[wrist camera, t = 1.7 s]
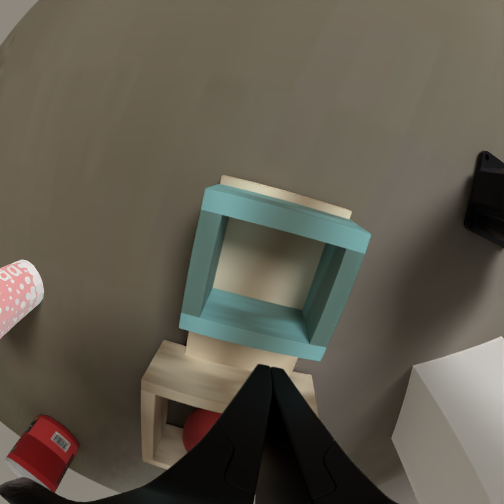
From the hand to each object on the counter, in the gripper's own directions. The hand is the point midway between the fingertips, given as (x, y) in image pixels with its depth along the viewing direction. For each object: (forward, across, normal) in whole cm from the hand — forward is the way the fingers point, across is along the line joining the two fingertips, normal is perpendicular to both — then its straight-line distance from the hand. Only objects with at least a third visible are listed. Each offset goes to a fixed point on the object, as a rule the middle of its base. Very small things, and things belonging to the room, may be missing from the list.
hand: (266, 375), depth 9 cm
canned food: (+11, +22, +34) cm, 42 cm away
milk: (+11, -23, +9) cm, 27 cm away
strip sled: (+11, 0, +8) cm, 13 cm away
